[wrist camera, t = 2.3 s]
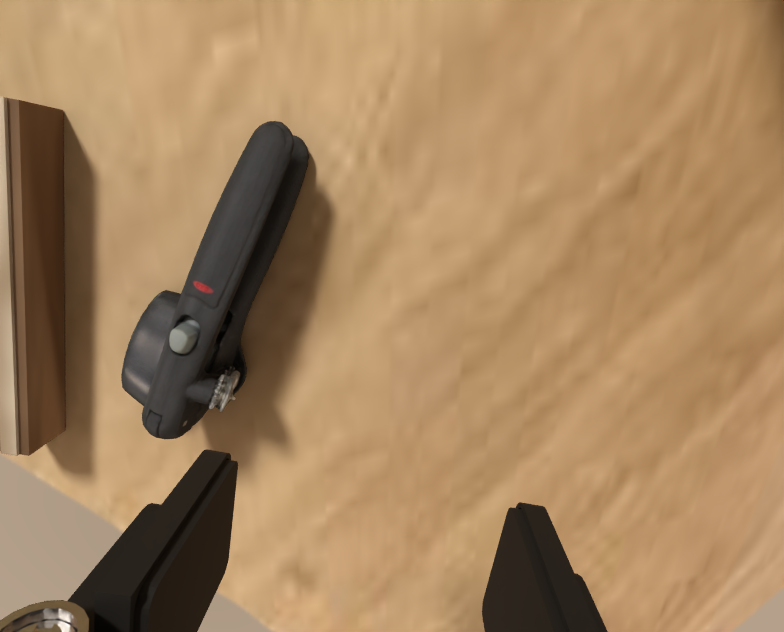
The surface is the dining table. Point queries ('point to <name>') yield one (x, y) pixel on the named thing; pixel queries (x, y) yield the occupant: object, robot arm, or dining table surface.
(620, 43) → the dining table surface
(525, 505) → the robot arm
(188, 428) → the can opener
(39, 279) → the walnut rail
